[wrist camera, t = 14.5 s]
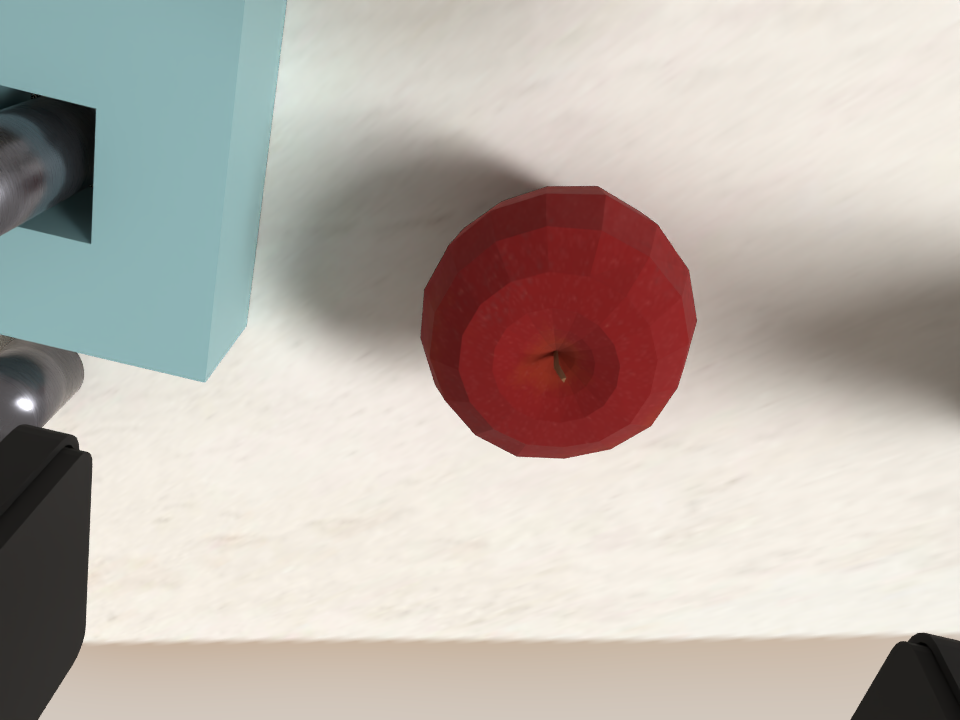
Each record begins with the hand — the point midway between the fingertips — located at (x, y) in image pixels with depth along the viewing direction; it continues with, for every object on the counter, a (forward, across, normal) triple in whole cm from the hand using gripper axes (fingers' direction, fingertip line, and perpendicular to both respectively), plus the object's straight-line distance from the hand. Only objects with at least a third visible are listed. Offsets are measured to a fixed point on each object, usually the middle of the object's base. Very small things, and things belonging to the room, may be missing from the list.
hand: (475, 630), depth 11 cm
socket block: (+32, +19, +6) cm, 38 cm away
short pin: (+32, +21, +19) cm, 43 cm away
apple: (+32, -3, +7) cm, 33 cm away
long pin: (+32, +19, +6) cm, 38 cm away
